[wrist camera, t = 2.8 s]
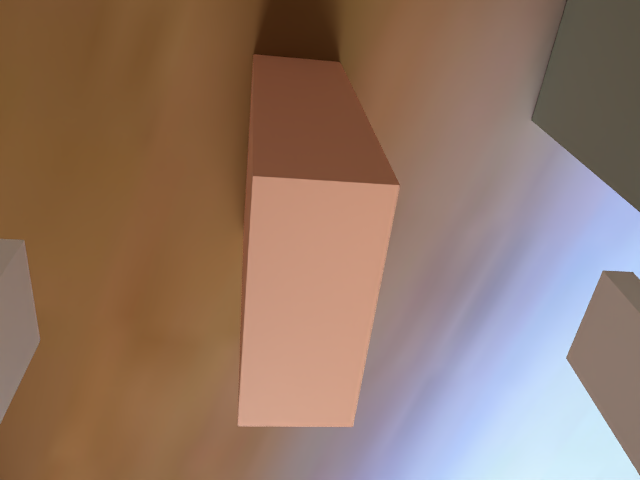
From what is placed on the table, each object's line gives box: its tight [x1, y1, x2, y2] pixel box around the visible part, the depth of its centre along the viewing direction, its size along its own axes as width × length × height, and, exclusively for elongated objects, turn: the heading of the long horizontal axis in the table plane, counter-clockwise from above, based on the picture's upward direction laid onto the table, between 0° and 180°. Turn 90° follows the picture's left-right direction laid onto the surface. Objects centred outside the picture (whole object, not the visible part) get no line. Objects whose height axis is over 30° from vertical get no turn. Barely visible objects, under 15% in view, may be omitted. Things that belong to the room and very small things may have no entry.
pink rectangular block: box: [238, 54, 400, 427], centre depth 18 cm, size 3×7×10 cm, turn 174°
